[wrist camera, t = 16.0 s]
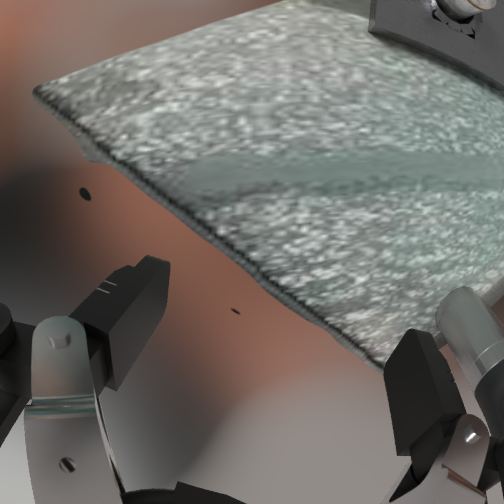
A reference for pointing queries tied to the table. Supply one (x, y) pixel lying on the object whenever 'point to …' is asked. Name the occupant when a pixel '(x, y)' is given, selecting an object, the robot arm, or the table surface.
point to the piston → (464, 7)
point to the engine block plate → (446, 34)
